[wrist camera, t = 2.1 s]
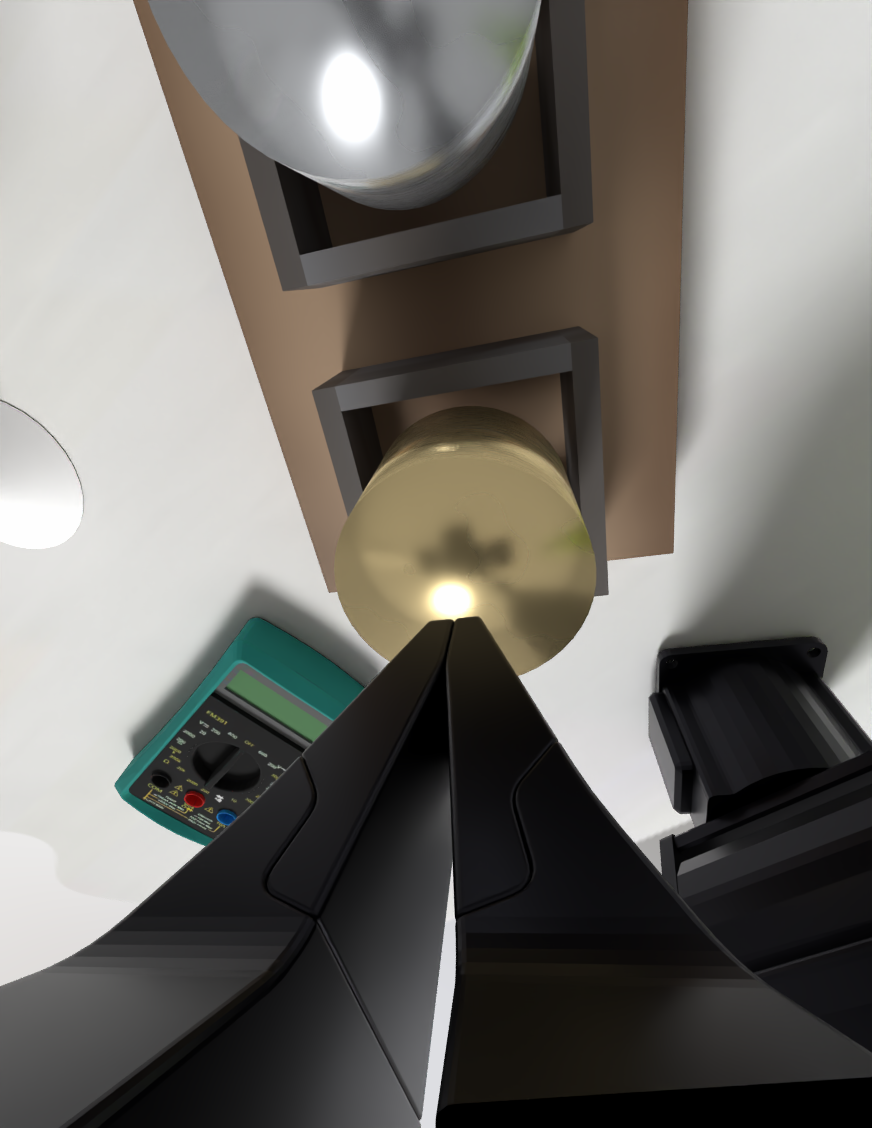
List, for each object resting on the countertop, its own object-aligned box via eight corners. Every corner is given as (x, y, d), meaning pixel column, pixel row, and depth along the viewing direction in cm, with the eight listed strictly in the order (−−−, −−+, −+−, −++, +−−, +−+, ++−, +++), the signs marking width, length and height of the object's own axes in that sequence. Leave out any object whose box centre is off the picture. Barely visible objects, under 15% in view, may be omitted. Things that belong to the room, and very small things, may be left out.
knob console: (651, -159, 12) (772, -490, 7) (649, 516, 20) (705, 602, 15) (182, -1, 14) (0, -162, 9) (348, 554, 22) (303, 642, 17)
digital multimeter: (132, 758, 30) (99, 803, 28) (260, 603, 24) (233, 643, 22) (239, 819, 32) (218, 866, 30) (385, 689, 26) (374, 735, 23)
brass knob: (561, 388, 12) (589, 436, 9) (575, 576, 14) (601, 674, 11) (352, 424, 13) (301, 480, 9) (397, 596, 15) (369, 692, 12)
